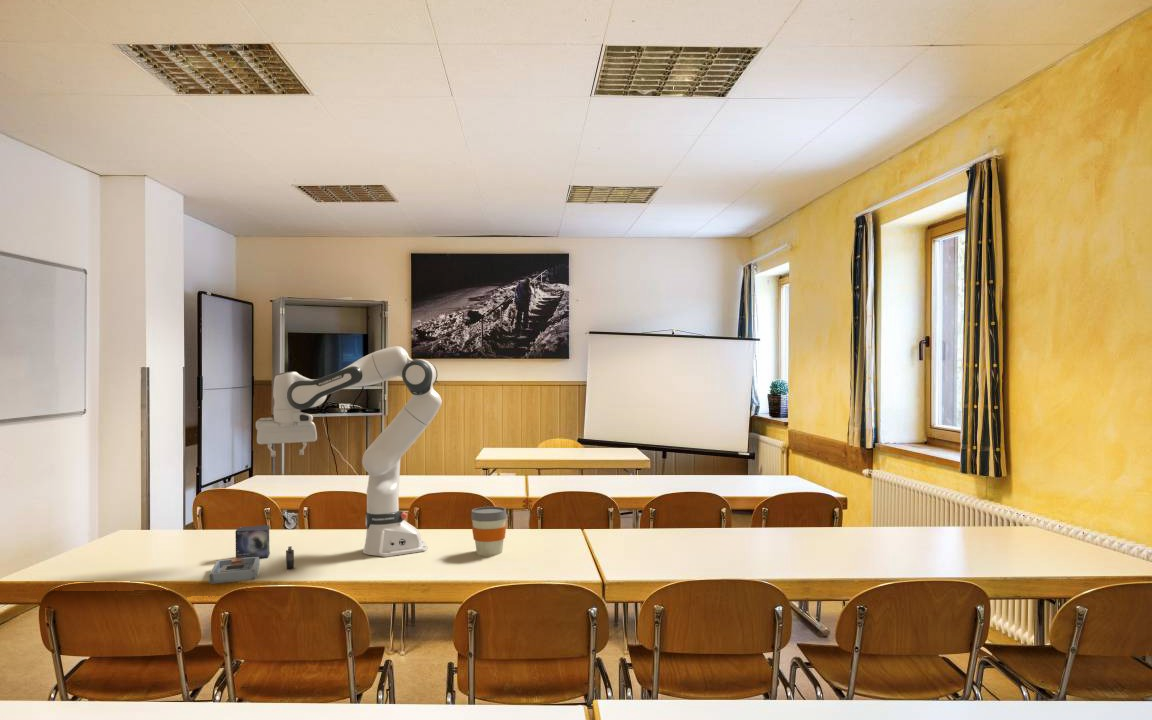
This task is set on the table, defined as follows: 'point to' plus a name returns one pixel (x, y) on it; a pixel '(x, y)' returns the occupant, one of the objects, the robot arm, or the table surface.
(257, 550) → the small box
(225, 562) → the tray
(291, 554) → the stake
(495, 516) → the reusable coffee cup
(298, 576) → the table surface
